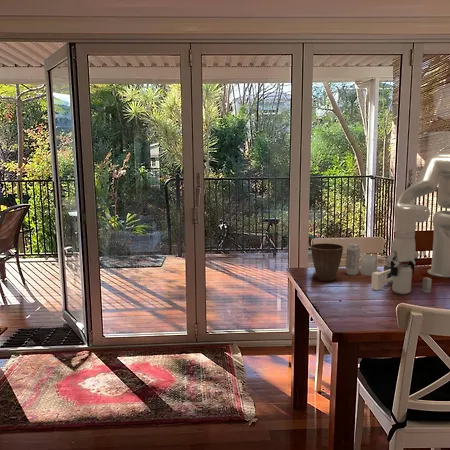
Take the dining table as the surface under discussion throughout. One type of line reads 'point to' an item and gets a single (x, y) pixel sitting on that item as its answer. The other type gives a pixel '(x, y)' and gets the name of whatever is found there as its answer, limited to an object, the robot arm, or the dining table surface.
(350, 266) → the energy drink can
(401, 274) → the can
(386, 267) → the hinge mount
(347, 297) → the dining table surface
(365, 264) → the tea bag
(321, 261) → the plant pot
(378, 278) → the gate
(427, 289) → the post
